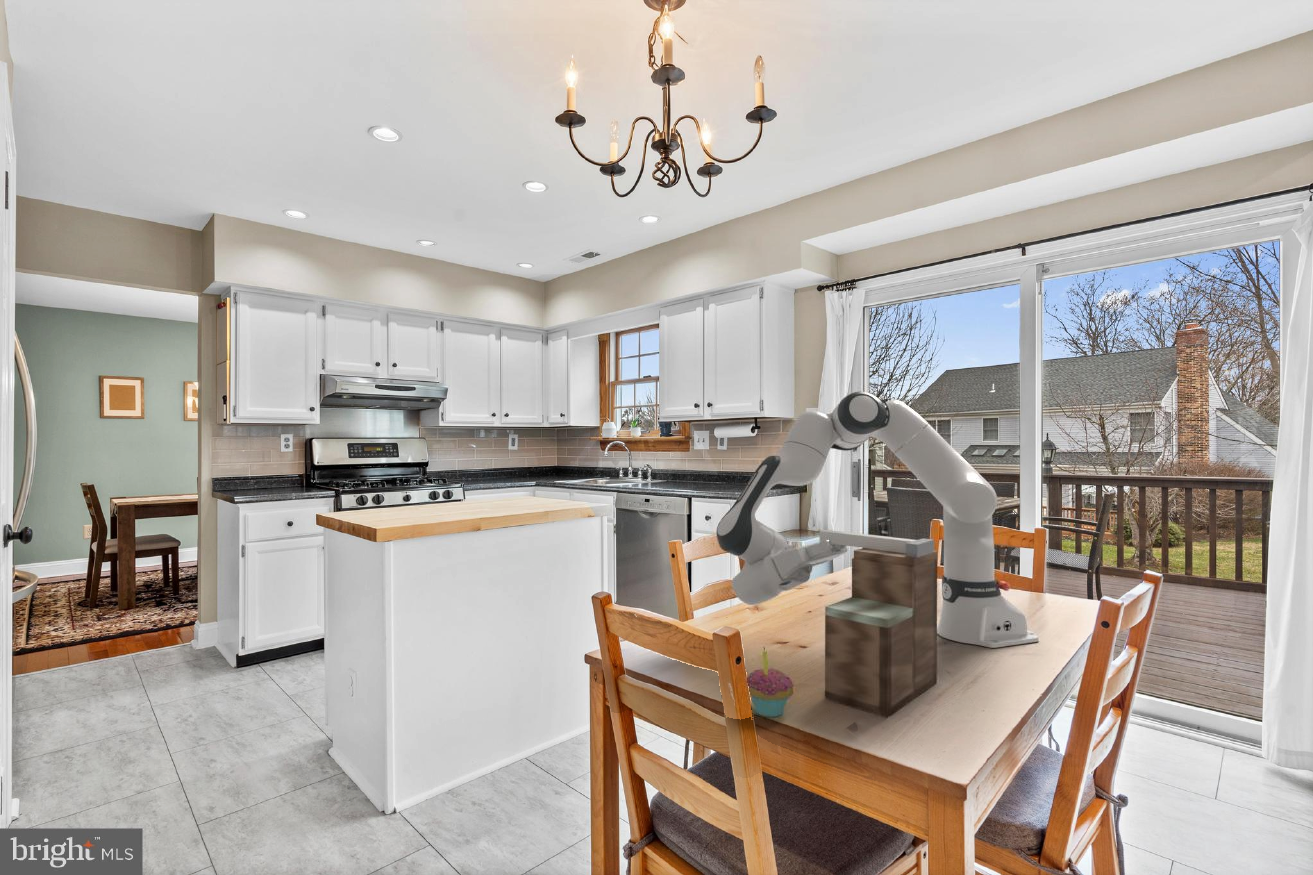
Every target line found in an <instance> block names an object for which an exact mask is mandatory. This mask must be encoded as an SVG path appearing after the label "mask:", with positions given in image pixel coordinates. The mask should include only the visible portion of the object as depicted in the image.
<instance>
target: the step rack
mask: <svg viewBox="0 0 1313 875" xmlns="http://www.w3.org/2000/svg"><path fill="white" fill-rule="evenodd" d="M824 619H825V620H824V699H826V700H829V701H832V702H835V703H838V704H842V705H844V706H848V707H852V708H855V709H858V710H861V711H865V712H867V713H871V714H873V715H877V716H881V717H884V718H886V719H888V718H889V717H891V716H893V715H894V714H895V713H896V712H899V710H901V709H903V707H905V706H907V705H908V704H909V703H910V702H912V701H913V699H914V700H915V699H917V698H919V697H920V696H921V695H923V693H925V692H927V691H928V690H930V689H931V688H932V687H933V686H935V685H937V684H938V682H937V681H938V678H937V676H938V673H937V672H938V669H937V668H938V665H937V664H938V661H937V660H938V634H937V628H938V550H934V552H933V553H930V554H927V555H924V556H921V557H918V558H917V557H910V556H906V553H900V552H892V551H884V550H877V549H869V548H858V549H855V550H853V558H851V596H850V597H848V598H845V599H843V600H839V601H837V602H834V603H831V604H829V605H826V606H824Z"/></svg>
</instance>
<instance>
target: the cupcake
mask: <svg viewBox="0 0 1313 875" xmlns="http://www.w3.org/2000/svg"><path fill="white" fill-rule="evenodd" d="M762 660H763V661H762V662H763V669H759V670H758V669H757V670H755V671H753V672H751V673H750V674H749V675H747V676H746V678H747V683H748V686H749V692H750V697H751V699H752V702H753V706H754V709H755V710H754V711H755V712H756V714H758V715H760V716H762V717H766V718H767V717H768V718H769V717H770V718H775V717H779V716H781V715H782V714H783V713H784V710H785V706H786V704H787V701H788V700H789V698H790V697H791V696H792V695H793V694H794V683H793V681H792V679H791V678H790V677H789V675H786V674H784V672H782V671H779V670H778V669H774V668H768V654H767V650H766V647H765V646H763V650H762Z"/></svg>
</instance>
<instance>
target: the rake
mask: <svg viewBox="0 0 1313 875" xmlns="http://www.w3.org/2000/svg"><path fill="white" fill-rule="evenodd" d="M824 540H830V541H831V543H832V544H838V545H845V546H846V547H855V548H860V549H862V548H869V549H877V550H884V551H892V552H900V553H906V556H910V557H917V558H918V557H921V556H924V555H927V554H930V553H933V552H934V551H935V539H933V538H930V539H929V538H920V539H911V538H902V537H894V536H884V535H877V534H876V535H875V534H867V533H858V532H857V533H856V532H849V531H840V530H839V531H838V530H830V529H822V530H819V542H822V541H824Z"/></svg>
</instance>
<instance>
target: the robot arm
mask: <svg viewBox="0 0 1313 875" xmlns="http://www.w3.org/2000/svg"><path fill="white" fill-rule="evenodd" d="M870 438H872V439H873V438H874V439H877V440H879V441H880V442H882V443H883V444H885V445H886V447H887V448H888V449H889V451H891V452H892V453H893V454H894V455H895V456H896V458H897V459H898V460H899V461H900V462H902V464H903V465H904V466H905V467H906V468H907V469H908V471H910V472H911V473H912V474H913V475H914V476H915V477H916V479H918V481H919V482H921V484H922V485H923V486H924V487H925V488H926V489H927V490H928V491H929V492H930V494H932V496H933V497H934V498H935V499H936V500H937V501H938V502H939V503H940V504H941V506H942V507H943V509H942V510H943V519H942V520H943V574H942V575H941V596H942V604H941V605H942V606H941V612H940V616H939V617H940V618H939V621H938V624H937V635H938V636H940V637H941V638H944V639H947V640H951V641H954V642H958V643H963V644H970V645H976V646H981V647H986V648H992V649H996V648H1002V647H1009V646H1016V645H1023V644H1029V643H1036V642H1039V641H1040V640H1039V636H1038V635H1037V634H1036V633H1035V632H1033V631H1031V630H1029V629H1028V623H1027V618H1026V615H1025V614H1024V612H1023V611H1022V609H1020V608H1018V607H1017V606H1016V605H1015V604H1013V603H1012V602H1011V601H1009V599H1007V598H1006V597H1005V596H1004V595H1002V592H1001V590H1003V591H1005V592H1008V591H1010V589H1011V584H1010V582H1007V581H1004V580H1000V581H999V580H997V579H996V578H995V540H994V530H993V529H994V526H993V525H994V524H993V514H994V513H995V511H996V509H997V505H998V496H997V493H996V491H995V488H994V487H993V485H991V484H990V483H989V482H988V481H987V480H986V479H985V478H984V477H983V476H982V475H981V474H980V473H979V472H978V471H977V470H976V469H975V468H974V467H973V466H972V465H971V464H970V463H969V462H968V461H967V460H966V459H965V458H964V457H963V456H962V455H961V454H959V452H958V451H957V450H956V449H955V448H953V446H952V445H950V443H949V442H947V441H946V439H944V437H942V435H940V434H939V433H938V431H936V429H934V427H933V426H931V424H930V423H929V422H928V421H927V420H926V419H925V418H923V417H922V416H921V415H920V414H919V413H918V412H916V411H915V410H914V409H913V408H911V407H910V406H908V404H906V403H905V402H902V401H901V400H899V399H891V400H887V401H885V400H884V399H882V398H879V397H877V396H875V395H874V394H872V393H869V392H866V391H854V392H851V393H849V394H848V395H846V396H844V397H843V398H842V399H841V400H840V402H839V403H838V404H837V405H836V406H835V407H834V409H833V410H832V412H831V413H823V412H820V411H818V410H807V411H806V410H805V411H804V412H803V413H801V414H800V415H799V416H798V418H797V419H796V420H795V422H794V423H793V425H792V426H791V428H790V429H789V430H788V434H787V435H786V437H785V440H784V441H783V444H782V445H781V447H780V449H779V451H778V452H777V453H776V454H775V455H770V456H767V457H766V458H765V459H764V460H762V461H761V463H760V464H759V465H758V467H757V468H756V469H755V471H754V472H753V474H752V476H751V477H750V479H749V480H748V482H747V483H746V485H745V486H744V488H743V490H742V491H741V492H740V494H739V496H738V497H737V499H736V500H735V501H734V502H733V503H734V504H733V505H732V506H731V507H730V508H729V510H728V511H727V512H726V513H725V515H723V517H722V518H721V520H720V521H719V523H718V525H717V527H716V538H717V543H718V545H719V548H720V549H721V550H722V551H724V552H727V553H728V554H730V555H733V556H735V557H738V558H740V559H742V560H743V561H744V564H743V567H742V568H741V570H740V572H739V573H737V574H736V575H735V576H733V578H732V580H731V589H732V591H733V593H734V595H735V596H736V597H737V598H738V599H739V600H740V601H741V602H743V603H744V604H746V605H749V606H756V605H760V604H763V603H766V602H767V601H770V600H772V599H774V598H776V597H778V596H779V595H781V593H783V592H788V591H790V590H793V589H794V588H795V589H796V588H797V587H799V586H801V585H803V584H805V583H807V582H808V581H809V580H810V578H811V573H812V571H813V567H817V566H819V565H823V564H825V563H828V562H829V561H832V560H834V559H837V558H839V557H840V556H842V555H845V554H846V553H847V552H848V547H847V546H845V545H838V544H832V543H831V541H830V540H824V541H822V542H820V541H818V542H815V543H810V544H807V545H801V546H795V545H793V544H789V543H788V540H787V539H786V538H785V536H783V535H781V533H779V532H777V531H776V530H774V529H772V528H770V527H769V526H767V525H765V524H764V523H762V522H760V521H759V520H758V519H757V518H756V512H757V511H758V510H759V507H760V506H761V505H762V502H763V501H764V499H765V498H766V496H767V495H768V494H769V491H770V490H771V488H773V487H774V486H776V485H779V484H780V485H784V486H785V485H786V486H794V487H800V486H801V487H802V486H807V485H809V484H811V483H813V482H814V481H816V480H817V478H818V477H819V476H820V474H821V472H822V470H823V469H824V468H823V467H824V466H825V463H826V460H827V457H828V455H829V452H830V450H831V449H835V450H838V451H845V452H846V451H847V452H848V451H853V450H856V449H857V448H859V447H861V446H862V445H863V444H864V443H865V442H867V441H868V440H869V439H870Z"/></svg>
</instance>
